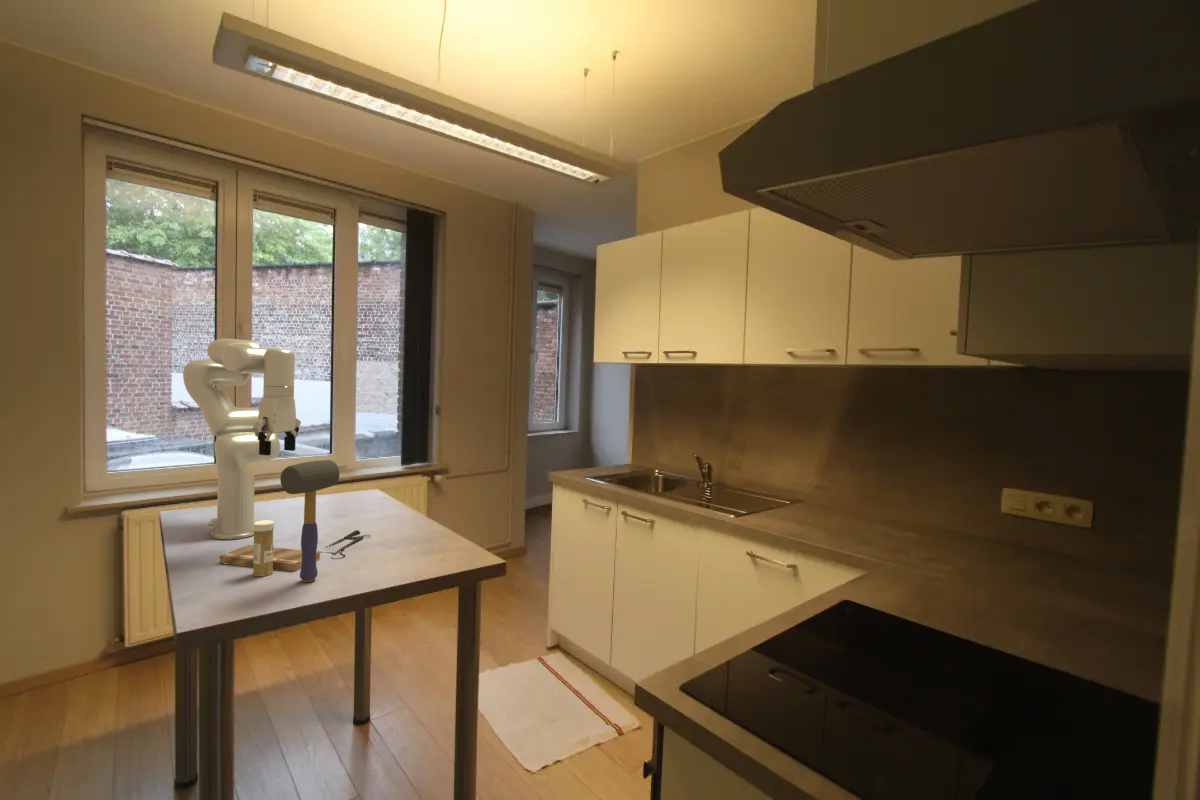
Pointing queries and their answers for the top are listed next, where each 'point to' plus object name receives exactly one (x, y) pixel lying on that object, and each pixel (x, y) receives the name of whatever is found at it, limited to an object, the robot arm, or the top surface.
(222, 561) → the board
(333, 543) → the hacksaw
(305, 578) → the rubber mallet
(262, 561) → the sprinkles bottle
